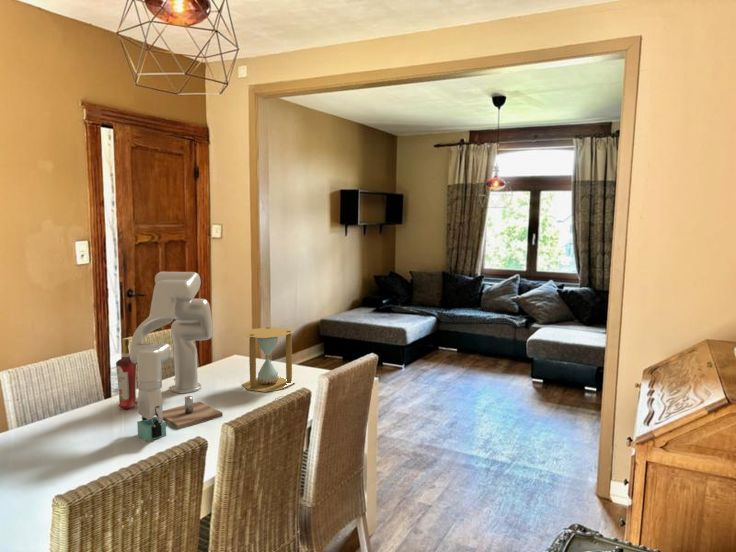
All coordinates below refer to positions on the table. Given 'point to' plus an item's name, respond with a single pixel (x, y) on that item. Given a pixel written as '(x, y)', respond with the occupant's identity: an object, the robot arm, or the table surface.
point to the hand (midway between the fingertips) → (151, 433)
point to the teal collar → (149, 429)
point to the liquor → (126, 378)
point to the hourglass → (268, 359)
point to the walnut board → (190, 415)
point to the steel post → (189, 404)
